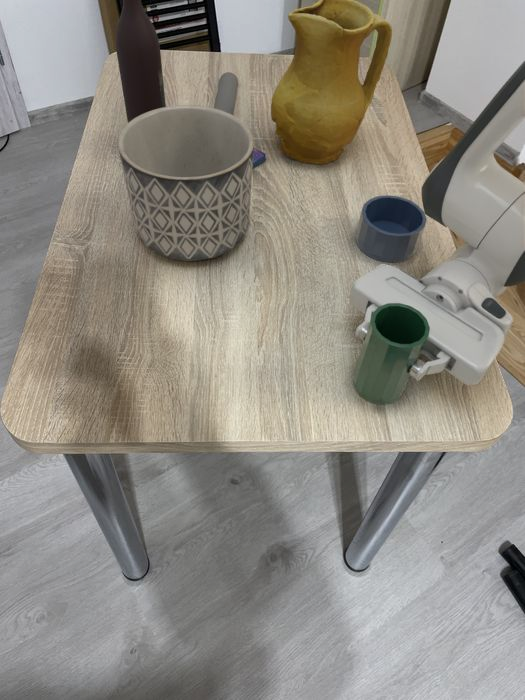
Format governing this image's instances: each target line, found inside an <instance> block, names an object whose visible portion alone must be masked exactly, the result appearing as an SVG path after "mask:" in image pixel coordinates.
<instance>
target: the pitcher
mask: <svg viewBox="0 0 525 700" xmlns="http://www.w3.org/2000/svg"><path fill="white" fill-rule="evenodd" d="M287 19H288V21H289V22H290V23H291V26H292V28H293V29H294V31H295V49H294V54H293V58H292V60H291V62H290V64H289V66H288V67H287V69H286V71H285V72H284V73H283V75H282V76H281V78H280V79H279V81H278V83H277V85H276V87H275V89H274V92H273V94H272V97H271V104H270V117H271V121H272V122H274V123H275V128H276V129H275V131H274V133H275V134H276V135H277V136H278V137H279V138H280V139H281V141H280V143H279V149H280V151H281V153H282V154H283V155H285V156H287V157H289V158H290V159H292V160H295V161H298V162H300V163H302V164H314V165H327V164H329V163H331V162H334V161H336V160H338V159H339V158H340V157H341V155H342V154H343V151H344V148H345V147H346V146H347V145H348V144H350V143H351V142H352V141H354V138H355V137H356V135H357V133H358V131H359V129H360V127H361V124H362V123H363V120H364V119H365V115H366V113H367V111H368V108H369V107H370V105H371V104H372V103H373V102H372V100H373V99H374V94H375V90H376V88H377V84H378V83H379V82H380V79H381V75H382V72H383V69H384V67H385V64H386V60H387V58H388V54H389V49H390V46H391V42H392V36H393V28H392V26H391V23H390V22H389V21H388V20H387V19H385V18H383V17H382V16H380V15H379V14H377V13H374V12H373V11H372V10H371V8H370V7H368V6H367V5H365V4H363V3H361V2H359V1H357V0H317V1H316V3H314V4H313V5H309V6H305V7H301V8H297V9H294V10H292V11H290V12H289V13H288V14H287ZM375 30H376V32H377V36H376V40H375V41H376V42H375V48H374V50H373V54H372V57H371V61H370V64H369V67H368V69H367V71H366V75H365V78H364V81H363V84H362V83H361V81H360V78H359V63H360V53H361V46H362V45H363V43H364V41H365V39H367V38H368V37H369V36H370V35H371V34H372V32H373V31H375Z"/></svg>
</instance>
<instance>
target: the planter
mask: <svg viewBox="0 0 525 700" xmlns="http://www.w3.org/2000/svg"><path fill="white" fill-rule="evenodd" d="M254 148H255V137H254V134H253V133H252V130H251V129H250V128H249V126H248V125H247V124H246V123H245V122H244V121H243V120H241V119H240V118H238V117H237V116H235V115H234V114H233V115H231V114H229V113H227V112H224V111H221V110H218V109H214V107H210V106H205V105H194V104H193V105H192V104H181V105H179V104H178V105H169V106H166V107H163V108H159V109H155V110H152V111H149V112H146V113H144V114H141V115H139V116H138V117H136V118H134V119H133V120H131V121H130V122H129V123H128V122H127V123H126V124H125V125H124V126H123V128H122V129H121V131H120V133H119V134H118V137H117V149H118V152H119V153H118V154H119V158H120V164H121V168H122V173H123V177H124V182H125V186H126V191H127V192H126V193H127V196H128V201H129V207H130V210H131V211H130V212H131V216H132V219H133V225H134V228H135V232H136V234H137V237H138V238H139V240H140V241H141V243H142V244H144V245H145V247H147V248H148V249H149V250H151V251H152V252H154V253H156V254H158V255H160V256H162V257H165V258H169V259H172V260H178V261H184V262H185V261H186V262H187V261H189V262H191V261H194V262H195V261H205V260H210V259H213V258H217V257H219V256H222V255H224V254H226V253H228V252H230V251H232V250H234V249H235V248H236V247H237V246H238V245H239V244H240V243H241V242H242V241H243V239H244V238H245V236H246V235H247V233H248V230H249V225H250V215H251V214H250V212H251V211H250V210H251V197H252V184H253V183H252V181H253V168H254V167H253V153H254Z"/></svg>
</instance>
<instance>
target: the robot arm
mask: <svg viewBox="0 0 525 700" xmlns="http://www.w3.org/2000/svg"><path fill="white" fill-rule="evenodd" d="M524 119H525V60H523V62H522V63H521V64H520V65H519V66H518V67H517V69H516V70H515V71H514V72H513V74H511V76H510V77H509V78H508V79H507V81H505V83H504V84H503V85H502V87H500V89H499V90H498V91H497V92H496V93H495V94H494V96H493V97H492V99H491V100H490V101H489V102H488V104H487V105H486V106H485V108H484V109H483V110H482V111H481V112H480V113H479V115H478V116H477V117H476V119H475V120H474V121H473V122H472V124H471V125H470V126H469V127H468V129H467V130H466V131H465V132H464V133H463V135H462V136H461V138H460V139H459V140H458V141H457V142H456V144H455V145H454V146H453V147H452V149H451V150H450V151H449V152H448V153H447V154H446V155H445V156H444V157H443V158H441V160H439V162H437V163H436V165H435V166H434V167H433V168H432V169H431V171H430V172H429V173H428V175H427V176H426V178H425V179H424V182H423V184H422V186H421V190H420V191H421V192H420V193H421V203H422V208H423V211H424V213H425V216H426V217H427V216H428V217H429V218H431V219H432V220H433V221H435V222H437V223H439V224H440V225H442V226H443V227H444V228H447V229H449V230H450V231H451V232H453V233H454V234H455V235H457V236H458V237H459V238H461V240H463V241H464V243H463V244H461V245H460V246H459V247H458V248H456V249H455V250H454V251H453V252H452V254H451V255H450V257H449V258H447V259H445V260H443V261H441V262H440V263H438V264H437V265H436V266H435V267H434V268H432V270H430V271H429V272H428V273H426V274H425V275H424V276H423V277H422V278H420V279H419V278H418V277H416V276H415V275H413V274H412V273H409V272H407V271H405V270H404V269H403V268H402V267H400V266H398V265H396V264H392V265H391V264H386V263H380V264H378V265H377V266H376V267H375V268H373V269H372V270H370V271H368V272H366V273H365V274H363V275H361V276H360V277H358V278H356V279H354V281H353V283H352V285H351V288H350V293H349V303H350V305H351V306H353V307H354V308H356V309H357V310H358V311H360V312H361V313H362V314H364V318H363V322H362V323H360V324H359V325H358V326H357V327H356V329H355V333H354V336H355V337H356V338H357V339H359V340H360V341H362V342H364V339H365V336H366V333H367V329H368V326H369V323H370V319H371V316H372V313H373V312H374V311H375V310H376V309H377V308H378V307H379V306H382V305H385V304H388V303H401V304H405V305H409V306H411V307H413V308H415V309H416V310H418V311H420V312H421V313H422V314H423V316H424V317H425V318H426V319H427V321H428V324H429V327H430V331H429V336H428V339H427V341H426V343H425V345H424V348H423V350H422V352H421V354H422V355H423V356H425V357H426V358H427V359H429V361H424V360H423V359H420V358H419V359H418V361H417V362H416V364H414V365H413V366H412V367H411V369H410V372H409V373H408V374H409V375H410V378H413V379H414V380H416V381H417V382H420V380H422V378H424V377H425V376H427V375H434V374H441V373H442V372H443V371H446V372H447V373H448V374H450V375H452V376H453V377H455V378H456V380H458V381H460V382H461V383H463V384H465V386H476V385H479V383H480V382H481V381H482V380H483V378H484V377H485V376H486V374H487V373H488V371H489V370H490V368H491V367H492V365H493V363H494V362H495V360H496V358H497V357H498V355H499V353H500V352H501V350H502V348H503V346H504V343H505V339H506V337H507V335H508V333H509V331H510V329H511V327H512V324H513V321H514V317H513V315H512V314H511V313H510V312H509V311H508V310H507V309H506V308H505V307H504V306H503V305H502V304H501V303H500V302H499V300H497V298H499V297H500V296H501V295H502V294H503V293H504V292H505V291H506V290H507V289H508V288H509V287H514V286H517V285H521V284H523V283H525V182H523V181H522V180H521V179H519V178H517V177H516V176H515V175H513V174H512V173H511V172H509V171H507V169H505V168H503V167H502V165H500V164H499V163H498V162H497V159H496V158H495V155H494V154H495V152H496V151H497V149H498V148H499V147H500V146H502V144H503V143H504V142H505V141H506V140H507V138H509V136H511V134H512V133H513V132H514V131H515V129H517V128H518V126H519V125H520V124H521V123H522V122H523V121H524Z"/></svg>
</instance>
